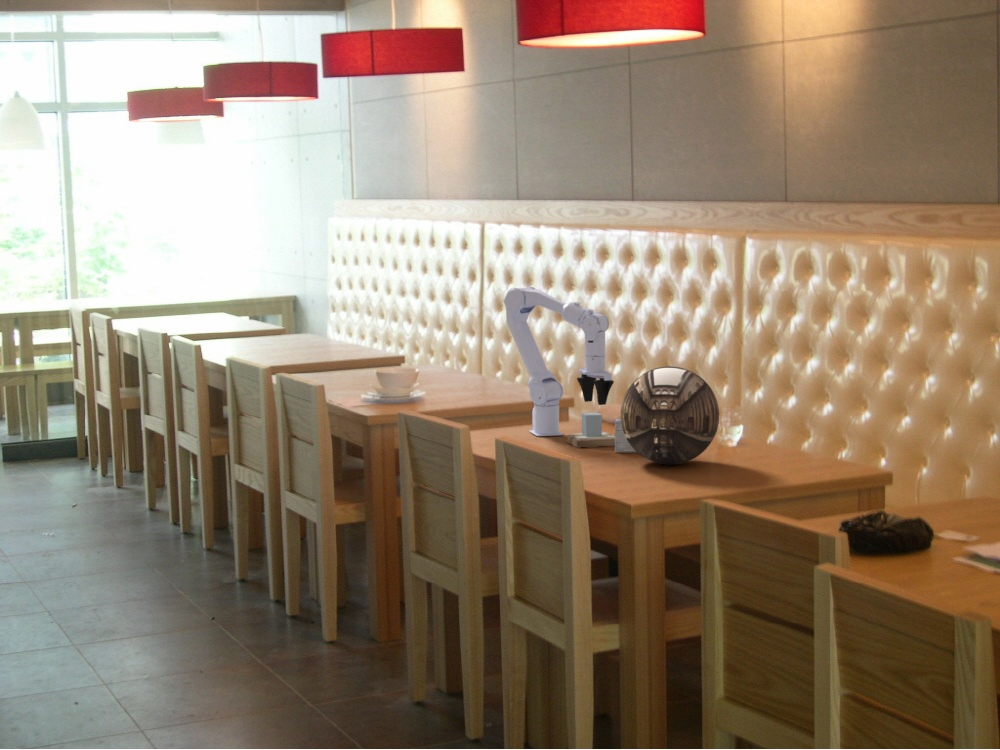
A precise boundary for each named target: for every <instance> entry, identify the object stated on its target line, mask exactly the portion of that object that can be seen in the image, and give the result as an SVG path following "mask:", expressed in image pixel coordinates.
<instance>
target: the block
mask: <svg viewBox="0 0 1000 750" xmlns="http://www.w3.org/2000/svg"><path fill="white" fill-rule="evenodd" d="M602 419H603V417H602V414H601V413H599V412H585V413H584V412H582V413H581V433H582V435H584V436H585V437H595V436H602V432H603V427H602V426H603V425H602V423H603V420H602Z"/></svg>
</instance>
